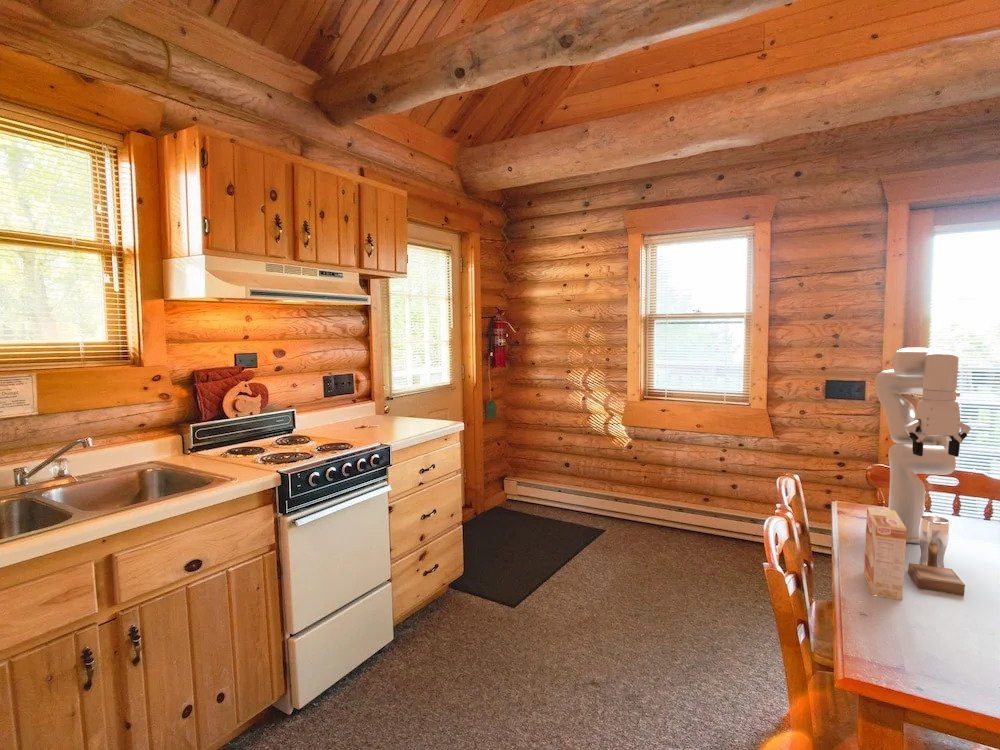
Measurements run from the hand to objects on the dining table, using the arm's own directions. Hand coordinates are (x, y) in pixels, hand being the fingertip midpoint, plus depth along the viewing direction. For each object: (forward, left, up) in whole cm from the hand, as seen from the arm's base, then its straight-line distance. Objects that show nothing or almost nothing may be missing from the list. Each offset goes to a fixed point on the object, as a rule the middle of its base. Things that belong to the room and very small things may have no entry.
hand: (935, 455), depth 159 cm
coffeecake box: (+18, -15, -34) cm, 41 cm away
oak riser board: (+11, -1, -34) cm, 36 cm away
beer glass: (0, +1, -34) cm, 34 cm away
